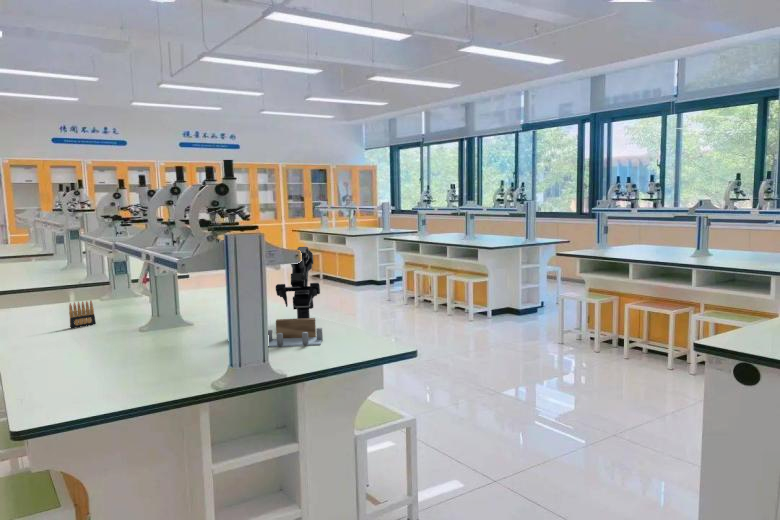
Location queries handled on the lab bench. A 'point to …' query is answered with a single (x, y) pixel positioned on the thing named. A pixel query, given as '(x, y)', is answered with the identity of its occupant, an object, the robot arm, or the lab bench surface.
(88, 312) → the ammunition clip
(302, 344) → the peg plate
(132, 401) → the lab bench surface
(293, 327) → the shelf board
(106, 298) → the lab bench surface
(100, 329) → the lab bench surface
